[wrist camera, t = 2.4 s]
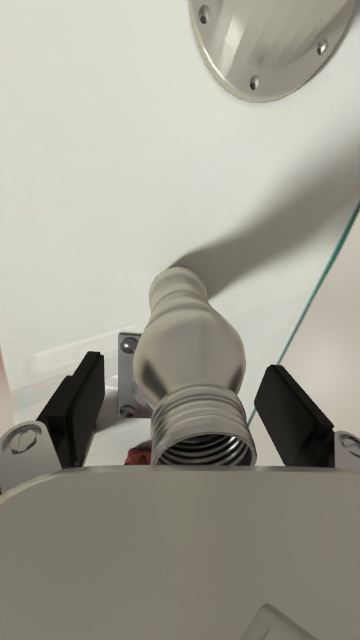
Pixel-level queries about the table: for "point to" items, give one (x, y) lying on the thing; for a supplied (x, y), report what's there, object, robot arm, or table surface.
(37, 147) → the table surface
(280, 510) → the robot arm
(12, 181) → the table surface
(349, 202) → the table surface
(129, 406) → the duct flange
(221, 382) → the plastic bottle
